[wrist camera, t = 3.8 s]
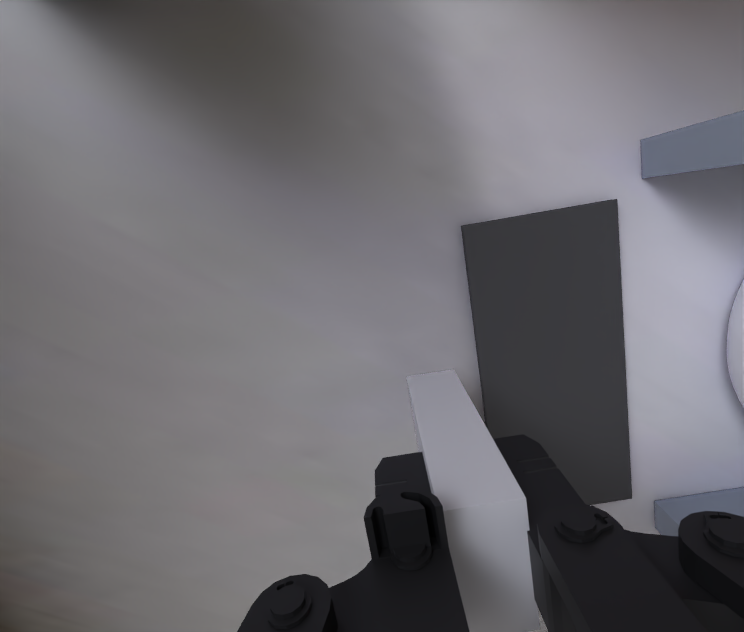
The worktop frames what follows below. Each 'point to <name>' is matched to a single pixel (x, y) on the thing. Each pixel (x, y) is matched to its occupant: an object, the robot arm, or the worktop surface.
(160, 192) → the worktop surface
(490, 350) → the mat
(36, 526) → the worktop surface
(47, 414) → the worktop surface
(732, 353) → the cup
